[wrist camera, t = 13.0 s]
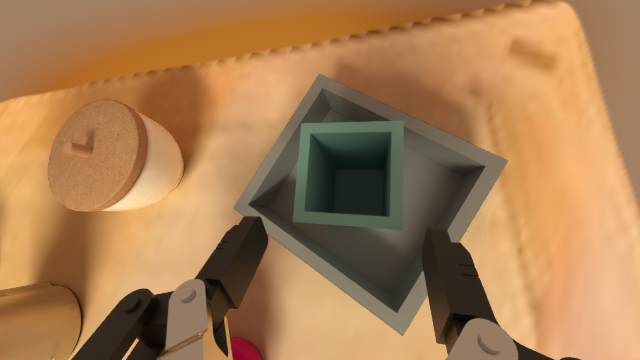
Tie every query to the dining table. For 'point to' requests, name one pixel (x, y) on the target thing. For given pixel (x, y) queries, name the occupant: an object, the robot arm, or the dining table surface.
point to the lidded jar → (113, 159)
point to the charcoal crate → (374, 243)
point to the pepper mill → (243, 350)
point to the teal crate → (351, 174)
